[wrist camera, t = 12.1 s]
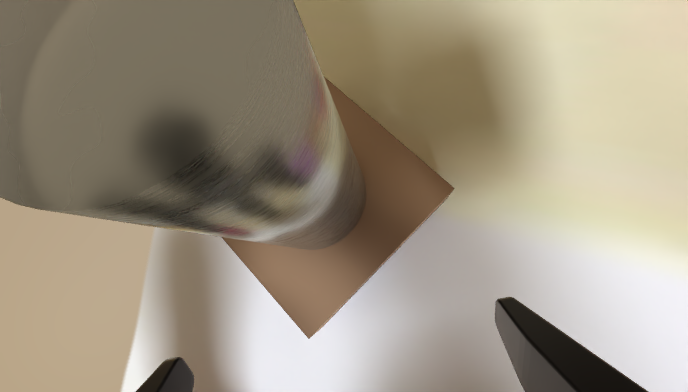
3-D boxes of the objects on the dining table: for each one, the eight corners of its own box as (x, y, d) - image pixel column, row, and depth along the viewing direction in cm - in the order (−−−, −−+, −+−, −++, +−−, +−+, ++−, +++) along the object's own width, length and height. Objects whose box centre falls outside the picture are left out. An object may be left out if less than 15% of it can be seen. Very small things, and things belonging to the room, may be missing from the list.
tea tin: (340, 267, 16) (159, 281, 4) (243, 224, 17) (-123, 133, 5) (382, 163, 17) (343, -100, 5) (286, 129, 18) (55, -150, 6)
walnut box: (322, 326, 19) (308, 338, 16) (215, 205, 21) (186, 196, 18) (445, 199, 19) (454, 188, 16) (326, 94, 21) (314, 68, 18)
